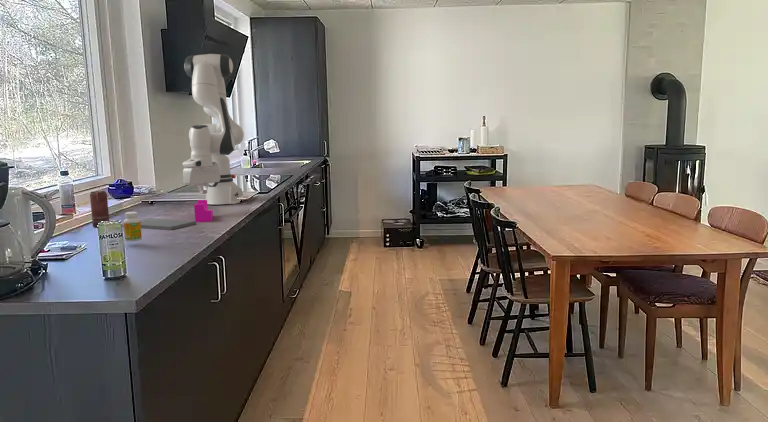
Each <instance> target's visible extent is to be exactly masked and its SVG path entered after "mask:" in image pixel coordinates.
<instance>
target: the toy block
mask: <svg viewBox="0 0 768 422" xmlns="http://www.w3.org/2000/svg"><path fill="white" fill-rule="evenodd" d="M193 209H194V221H196V223H205V222H207V223H209V222H212V221H213V218H214V210H213V209H209V208H208V204H207V200H206V199H197V203H194V204H193Z"/></svg>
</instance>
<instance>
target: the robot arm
mask: <svg viewBox="0 0 768 422" xmlns="http://www.w3.org/2000/svg"><path fill="white" fill-rule="evenodd" d="M233 63H234V62H233V61H232V58H231V57H230V56H229V55H228V54H225V53H224V54H223V53H222V54H217V53H207V54H206V53H205V54H197V55H195V54H192V55H188V56H187V57H186V58H185V59H184V64H183V65H184V66H183V67H184V71H185V73H186V76H188V77H189V78H191V94H192V98H193V101H194V102H195V103H197V104H198V105H199V106H201V107H203V112H204V113H205V114H206V115H208V116H209V117H212V118H214V119H216V121H217V122H216V123H201V124H195V125H192V126H191V127H190V129H189V131H188V138H189V147H190V148H189V149H190V151H191V152H190V158H188V159H187V160H185V161H183V162H182V167H183V170H182V181H183V183H184V185H186V186H192V185H193V186H194V185H196V186H197V188H198V191H199V194H200V195H205V200H207V205H231V204H233V205H235V204H239V203H241V202H240V201H241V200H237V198H239V197H241V196H243V197H244V195H243V189H242V188H241V186H239V185H238V184H237V183H235V181H234V179H236V178H237V175H236V174H231V163H230V159H229V155H231V153H233V152H234V151H235V148H236V146H237V145H240V144H241V143H242V142H243V140H244V131H243V130H244V129H243V128H242V126H240V125H239V124H238V123H237V122H235V121H234V120H233V118H232V117H231V115H230V113H229V109H228V102H227V91H226V83H225V81H226V80H228V79H229V77H231V75H232V73H233V69H234V64H233Z"/></svg>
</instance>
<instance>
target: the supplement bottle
mask: <svg viewBox="0 0 768 422" xmlns="http://www.w3.org/2000/svg"><path fill="white" fill-rule="evenodd" d="M138 216H139V215H138V212H137V211H127V212H125V213H124V217H125V219H123V230H124V241H125V242H138V241H141V240H143V239H142V237H143V235H142V228H141V222H140V220H141V219H140V218H139V217H138Z"/></svg>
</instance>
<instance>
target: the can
mask: <svg viewBox="0 0 768 422" xmlns="http://www.w3.org/2000/svg"><path fill="white" fill-rule="evenodd" d="M89 200H90V210H91V222H92V226H93V228H98V227H97V225H98V223H99V222H101V221H109V222H110V214H109V202H108V201H109V200H108V193H107V192H106V191H105V190H98V191H90V194H89Z"/></svg>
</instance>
